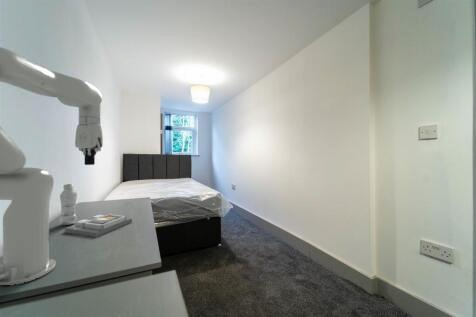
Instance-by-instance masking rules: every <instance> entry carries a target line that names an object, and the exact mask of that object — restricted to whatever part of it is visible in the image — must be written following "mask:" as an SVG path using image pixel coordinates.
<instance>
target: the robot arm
mask: <svg viewBox="0 0 476 317" xmlns="http://www.w3.org/2000/svg"><path fill="white" fill-rule="evenodd" d="M0 82H1V83H5V84H8V85H11V86H13V87H17V88H19V89H22V90H25V91H28V92H31V93H34V94H36V95H40V96H45V97H51V98H57V100H58V101H59V102H60V103H61V104H63V105H65V106H69V107H74V108H75V107H76V108H78V124H77V127H76V131H75V140H74V146H75V147H76V148H77V149H78V150H79V151H80V152H82V154H83V156H84V165H85V166H91V165H92V166H94V165H95V160H96V158H95V156H96V155H97V153H99V152H101V151H102V147H103V144H104V143H103V129H102V126H101V103H102V102H103V97H102V93H101V92H100V90H99V89H98V88H96V87H95V86H94V85H92V84H90V83H89V82H86V81H84V80H82V79H79V78H77V77H73V76H70V75H67V74H63V73H60V72H58V71H54V70H50V69H48V68H45V67H43V66H42V65H41V64H40V65H39V64H37V63H36V62H33V61H32V60H30V59H28V58H26V57H24V56H22V55H20V54H18V53H16V52H14V51H12V50H10V49H7V48H5V47H1V46H0ZM26 163H27V158H26V155H25V153H24V152H23V151H22V149H21V148H20V147H19V146H18V144H16V143H15V141H14V140H13V139H12V138H11V137H10V136H9V135H8V134H7V132H5V130H4V129H3V128H2V127H1V126H0V200H1V201H11V202H10V203H9V205H8V207H7V208H6V210H5V212H4V213H3V217H2V263H1V264H0V285H10V286H15V284H16V285H20V284H25V283H27V282H31V281H34V280H36V278H37V279H39V278H41V277H43V276H45V275H47V274H49V273H50V272H52V271H54V269H55V267H56V263H57V262H56V260H55V259H53V258H50V204H51V203H50V202H51V197H52V196H51V195H52V192H53V189H54V182H55V181H54V176H52V174H51V173H50V172H48V171H47V170H46V169H42V168H38V167H25V165H26ZM24 282H25V283H24Z"/></svg>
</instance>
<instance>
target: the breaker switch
mask: <svg viewBox="0 0 476 317" xmlns="http://www.w3.org/2000/svg"><path fill="white" fill-rule="evenodd" d="M116 219H117V218H116V217H104V218H99V219H94V222H99V223H105V222H110V221H113V220H116Z"/></svg>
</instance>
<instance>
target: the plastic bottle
mask: <svg viewBox="0 0 476 317" xmlns="http://www.w3.org/2000/svg"><path fill="white" fill-rule="evenodd" d="M62 188H63V190H62V191H61V193H60V195H59V200H60V206H61V207H60V208H61V210H60V216H59V224H60V225H61V226H69V225H70V226H71V225H73V224H76V222H77V220H78V216H77V213H76V203H77V197H78V193H77V192H76V190H75V189H74V184H73V183H68V184H67V183H66V184H63V187H62Z"/></svg>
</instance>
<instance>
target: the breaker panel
mask: <svg viewBox="0 0 476 317" xmlns="http://www.w3.org/2000/svg"><path fill="white" fill-rule="evenodd" d="M104 217H116V218H117V219H116V220H113V221H110V222H105V223H99V222H94V219H99V218H104ZM132 222H133V219H132V218H131V217H127V216H126V215H119V214H111V213H109V214H108V213H107V214H106V215H104V214H97V215H94V216H92V217H91V219H80V220H78V221H77V220H76V222H75V224H74V225H73V224H72V225H70V226H67V227H64V233H65V234H66V233H67V234H71V235H79V236H84V237H85V236H86V237H87V236H88V237H93V238H99V237H101V236H103V235H105V234H107V233H110V232H112V231H115V230H116V229H119V228H122V227H124V226H126V225H129V224H131V223H132Z"/></svg>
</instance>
